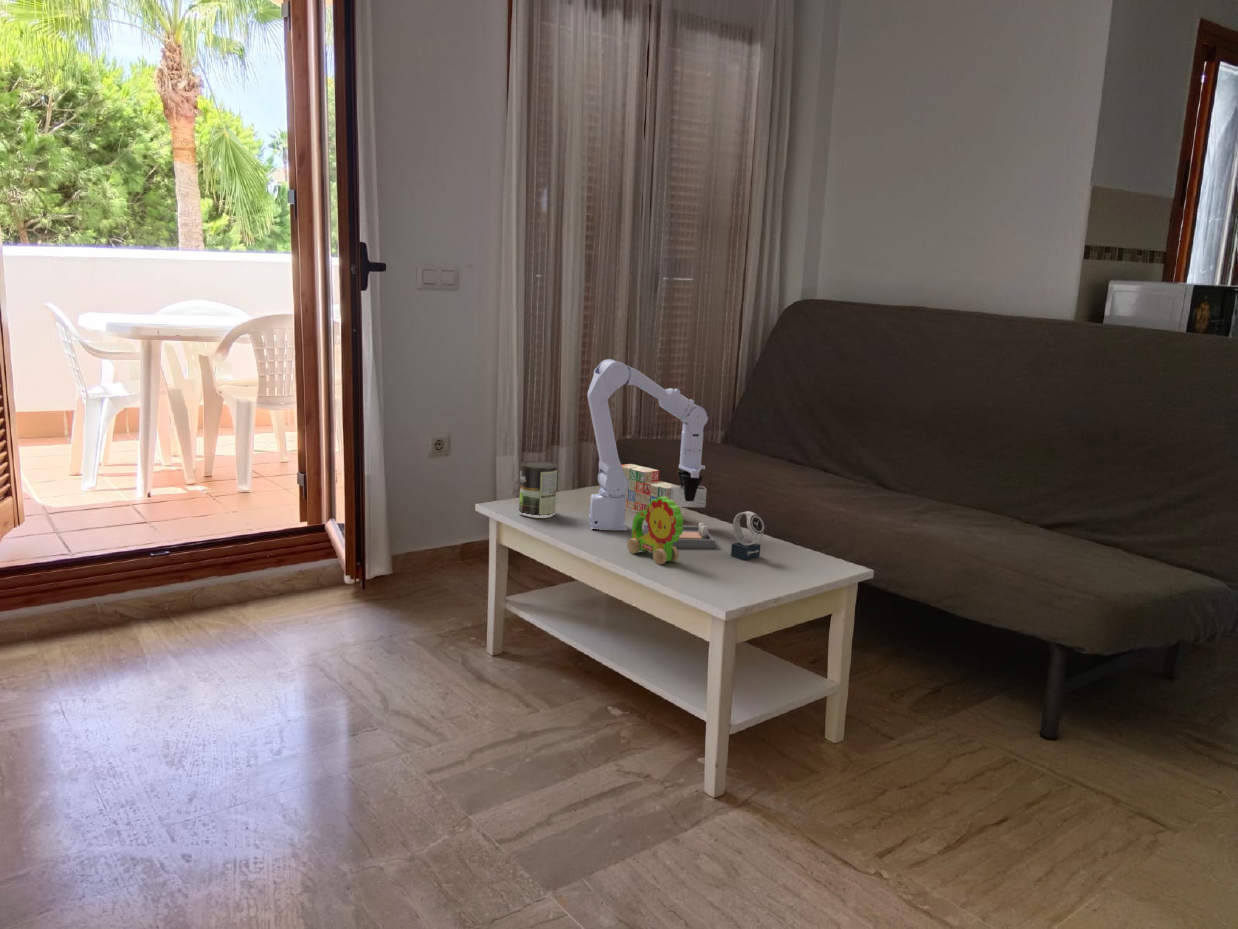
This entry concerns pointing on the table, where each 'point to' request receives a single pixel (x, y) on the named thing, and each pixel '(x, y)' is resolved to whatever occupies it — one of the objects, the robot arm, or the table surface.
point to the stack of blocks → (643, 486)
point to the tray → (692, 537)
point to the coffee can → (538, 487)
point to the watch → (743, 547)
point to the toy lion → (658, 530)
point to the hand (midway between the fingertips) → (687, 499)
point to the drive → (679, 497)
